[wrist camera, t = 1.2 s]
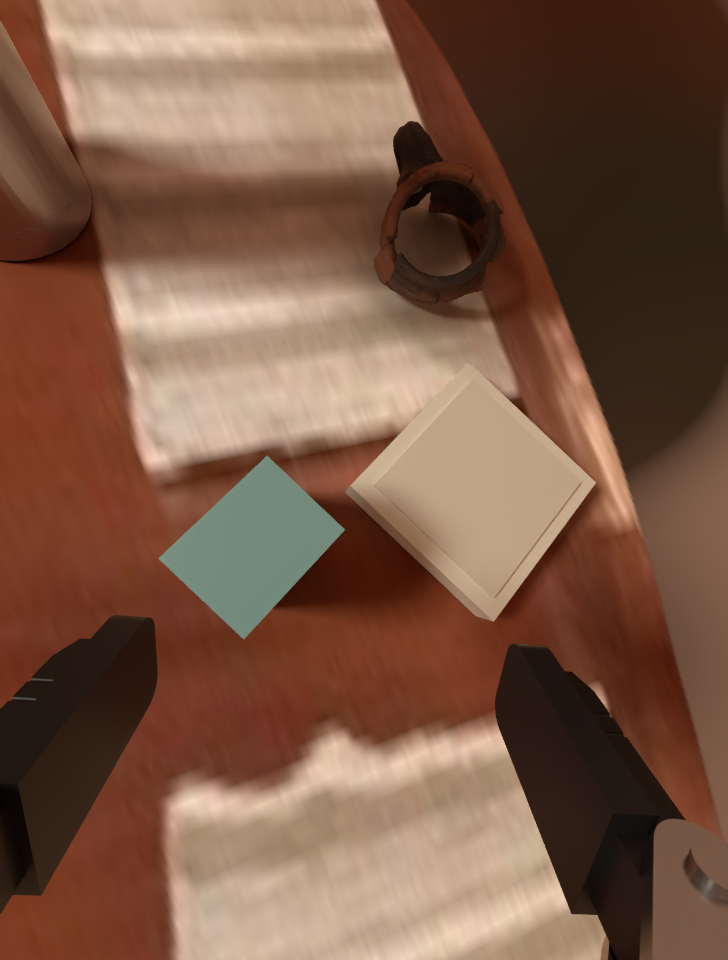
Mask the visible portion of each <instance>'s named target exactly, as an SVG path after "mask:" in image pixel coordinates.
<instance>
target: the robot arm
mask: <svg viewBox="0 0 728 960" xmlns="http://www.w3.org/2000/svg"><path fill="white" fill-rule="evenodd" d="M91 206H92V200H91V191H90V188H89V186H88V183H87V181H86V178H85V177H84V175H83V173H82V171H81V169H80V167H79V165H78V164H77V162H76V160H75V158H74V156H73V154H72V153H71V151H70V149H69V147H68V145H67V143H66V141H65V140H64V138H63V136H62V134H61V132H60V130H59V128H58V127H57V125H56V123H55V120H54V119H53V117H52V115H51V113H50V111H49V109H48V107H47V106H46V104H45V102H44V100H43V98H42V96H41V94H40V93H39V91H38V89H37V87H36V85H35V83H34V82H33V80H32V78H31V76H30V74H29V72H28V70H27V69H26V67H25V65H24V63H23V61H22V59H21V57H20V56H19V54H18V52H17V50H16V48H15V46H14V45H13V43H12V41H11V39H10V37H9V35H8V33H7V32H6V30H5V28H4V26H3V24H2V22H1V21H0V260H9V261H22V260H30V259H37V258H40V257H43V256H46V255H50V254H52V253H54V252H56V251H58V250H60V249H62V248H64V247H66V246H67V245H68V244H69V243H71V242H72V241H73V240H74V239H76V238H77V236H78V235H79V234H80V233H81V231H82V230H83V229H84V228H85V226H86V223H87V221H88V219H89V217H90V212H91ZM156 684H157V655H156V638H155V624H154V621H153V619H152V618H149V617H135V616H121V615H114V616H112V617H110V618H109V619H108V620H107V621H106V622H105V623H104V625H103V626H102V627H101V628H100V629H99V630H98V631H97V632H96V633H95V634H94V636H93V637H92V638H91V639H81V638H80V639H79V640H77V641H76V642H74V643H72V644H71V645H69V646H68V647H66V648H64V649H63V650H61V651H59V652H58V653H56V654H55V655H53V656H52V657H51V658H50V659H49V660H48V661H47V662H46V663H45V664H44V665H43V666H42V667H41V668H40V669H39V670H38V671H37V672H36V673H35V674H34V675H33V676H32V677H31V681H30V682H26V683H25V684H24V685H23V686H22V687H21V688H20V690H19V691H18V692H17V693H16V694H15V695H14V696H13V699H12V700H11V701H8V702H7V703H6V704H5V705H4V706H3V707H2V708H1V709H0V914H1V913H2V911H3V909H4V908H5V906H6V905H7V903H8V901H9V900H10V898H11V896H12V895H42V893H43V891H44V889H45V888H46V886H47V884H48V882H49V881H50V879H51V877H52V875H53V874H54V872H55V870H56V868H57V867H58V865H59V863H60V861H61V860H62V858H63V856H64V854H65V853H66V851H67V849H68V847H69V846H70V844H71V842H72V840H73V839H74V837H75V835H76V833H77V832H78V830H79V828H80V826H81V825H82V823H83V821H84V819H85V818H86V816H87V814H88V812H89V810H90V809H91V807H92V805H93V803H94V802H95V800H96V798H97V796H98V795H99V793H100V791H101V789H102V788H103V786H104V784H105V782H106V781H107V779H108V777H109V775H110V774H111V772H112V770H113V768H114V767H115V765H116V763H117V761H118V760H119V758H120V756H121V754H122V753H123V751H124V749H125V747H126V746H127V744H128V742H129V740H130V739H131V737H132V735H133V733H134V732H135V730H136V728H137V726H138V725H139V723H140V721H141V719H142V718H143V716H144V714H145V712H146V710H147V709H148V707H149V705H150V703H151V701H152V698H153V695H154V692H155V688H156ZM495 711H496V719H497V723H498V726H499V729H500V732H501V734H502V737H503V739H504V742H505V745H506V747H507V750H508V752H509V755H510V757H511V760H512V763H513V765H514V768H515V770H516V773H517V775H518V778H519V780H520V783H521V786H522V788H523V791H524V793H525V796H526V798H527V801H528V804H529V806H530V809H531V811H532V814H533V816H534V819H535V821H536V824H537V827H538V829H539V832H540V834H541V837H542V839H543V842H544V844H545V847H546V850H547V852H548V855H549V857H550V860H551V862H552V865H553V868H554V870H555V873H556V875H557V878H558V880H559V883H560V885H561V888H562V891H563V893H564V896H565V898H566V901H567V903H568V906H569V908H570V911H571V914H588V915H598V917H599V920H600V922H601V924H602V926H603V929H604V931H605V933H606V937H605V939H604V941H603V945H602V950H601V960H728V843H726V842H725V841H724V840H722V839H721V838H720V837H718V836H717V835H715V834H713V833H712V832H710V831H709V830H707V829H705V828H703V827H701V826H699V825H697V824H694V823H692V822H689V821H686V820H685V818H684V817H683V816H682V814H681V813H680V812H679V810H678V809H677V807H676V806H675V805H674V803H673V802H672V800H671V799H670V797H669V796H668V795H667V793H666V792H665V790H664V789H663V788H662V786H661V785H660V783H659V782H658V781H657V779H656V778H655V776H654V775H653V774H652V772H651V771H650V769H649V768H648V767H647V765H646V764H645V762H644V761H643V760H642V758H641V757H640V755H639V754H638V753H637V751H636V750H635V748H634V747H633V745H632V744H631V743H630V741H629V740H628V738H626V737H624V736H623V731H622V730H621V729H620V727H619V726H618V724H617V723H616V722H615V720H614V719H613V718H610V713H609V712H608V710H607V709H606V708H605V706H604V705H603V703H602V702H601V700H600V699H599V698H598V696H597V695H596V693H595V692H594V691H593V690H592V689H591V688H590V687H588V686H587V685H586V684H585V683H584V682H583V681H582V680H580V679H579V678H578V677H577V676H576V675H575V674H573V673H572V672H565V671H564V670H563V668H562V667H561V665H560V664H559V662H558V661H557V659H556V658H555V656H554V655H553V653H552V652H551V651H550V649H549V648H548V647H546V646H538V645H523V644H512V645H510V647H509V648H508V651H507V654H506V658H505V662H504V666H503V670H502V674H501V678H500V682H499V686H498V690H497V693H496V699H495Z"/></svg>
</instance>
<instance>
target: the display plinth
mask: <svg viewBox="0 0 728 960" xmlns="http://www.w3.org/2000/svg"><path fill="white" fill-rule="evenodd" d="M595 484H596V482H595V481H594V480H593V479H592V478H591V477H590V476H588V475H587V474H586V473H585V472H584V471H583V470H582V469H581V468H580V467H579V466H578V465H577V464H576V463H575V462H574V461H573V460H572V459H571V458H569V457H568V456H567V455H566V454H565V453H564V452H563V451H562V450H561V449H560V448H559V447H558V446H557V445H556V444H555V443H554V442H553V441H552V440H550V439H549V438H548V437H547V436H546V435H545V434H544V433H543V432H542V431H541V430H540V429H539V428H538V427H537V426H536V425H535V424H534V423H533V422H531V421H530V420H529V419H528V418H527V417H526V416H525V415H524V414H523V413H522V412H521V411H520V410H519V409H518V408H517V407H516V406H515V405H514V404H512V403H511V402H510V401H509V400H508V399H507V398H506V397H505V396H504V395H503V394H502V393H501V392H500V391H499V390H498V389H497V388H496V387H495V386H493V385H492V384H491V383H490V382H489V381H488V380H487V379H486V378H485V377H484V376H483V375H482V374H481V373H480V372H479V371H478V370H477V369H476V368H474V367H473V366H472V365H471V364H470V363H469V362H468V363H467V364H466V365H465V366H464V367H463V368H462V369H461V370H460V372H459V373H458V374H457V375H456V376H455V377H454V378H453V379H452V380H451V381H450V382H449V383H448V384H447V385H446V386H445V387H444V388H443V389H442V390H441V391H440V392H439V394H438V395H437V396H436V397H435V398H434V399H433V400H432V401H431V402H430V403H429V404H428V405H427V406H426V407H425V408H424V409H423V410H422V411H421V412H420V413H419V414H418V415H417V417H416V418H415V419H414V420H413V421H412V422H411V423H410V424H409V425H408V426H407V427H406V428H405V429H404V430H403V431H402V432H401V433H400V434H399V435H398V436H397V437H396V439H395V440H394V441H393V442H392V443H391V444H390V445H389V446H388V447H387V448H386V449H385V450H384V451H383V452H382V453H381V454H380V455H379V456H378V457H377V458H376V459H375V461H374V462H373V463H372V464H371V465H370V466H369V467H368V468H367V469H366V470H365V471H364V472H363V473H362V474H361V475H360V476H359V477H358V478H357V479H356V480H355V481H354V483H353V484H352V485H351V486H350V487H349V488H348V489H347V490H346V492H345V493H346V494H347V495H348V496H349V497H350V498H352V499H353V500H354V501H355V502H356V503H357V504H358V505H359V506H360V507H361V508H362V509H363V510H364V511H365V512H366V513H367V514H368V515H369V516H371V517H372V518H373V519H374V520H375V521H376V522H377V523H378V524H379V525H380V526H381V527H382V528H383V529H384V530H385V531H386V532H387V533H388V534H390V535H391V536H392V537H393V538H394V539H395V540H396V541H397V542H398V543H399V544H400V545H401V546H402V547H403V548H404V549H405V550H406V551H407V552H409V553H410V554H411V555H412V556H413V557H414V558H415V559H416V560H417V561H418V562H419V563H420V564H421V565H422V566H423V567H424V568H425V569H426V570H428V571H429V572H430V573H431V574H432V575H433V576H434V577H435V578H436V579H437V580H438V581H439V582H440V583H441V584H442V585H443V586H444V587H445V588H447V589H448V590H449V591H450V592H451V593H452V594H453V595H454V596H455V597H456V598H457V599H458V600H459V601H460V602H461V603H462V604H463V605H464V606H466V607H467V608H468V609H469V610H470V611H471V612H472V613H473V614H474V615H475V616H477V617H480V618H484V619H487V620H490V621H493V622H494V621H495V619H496V618H497V617H498V615H499V614H500V613H501V611H502V610H503V608H504V607H505V606H506V604H507V603H508V602H509V600H510V599H511V598H512V596H513V595H514V594H515V592H516V591H517V589H518V588H519V587H520V585H521V584H522V583H523V581H524V580H525V579H526V577H527V576H528V575H529V573H530V572H531V570H532V569H533V568H534V566H535V565H536V564H537V562H538V561H539V560H540V558H541V557H542V556H543V554H544V553H545V551H546V550H547V549H548V547H549V546H550V545H551V543H552V542H553V541H554V539H555V538H556V537H557V535H558V534H559V532H560V531H561V530H562V528H563V527H564V526H565V524H566V523H567V522H568V520H569V519H570V518H571V516H572V515H573V513H574V512H575V511H576V509H577V508H578V507H579V505H580V504H581V503H582V501H583V500H584V499H585V497H586V496H587V494H588V493H589V492H590V490H591V489H592V488H593V486H594V485H595Z"/></svg>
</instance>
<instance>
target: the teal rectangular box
mask: <svg viewBox="0 0 728 960" xmlns="http://www.w3.org/2000/svg"><path fill="white" fill-rule="evenodd" d="M344 530H345V529H344V528H343V527H342V526H341V525H340V524H338V523H337V522H336V521H335V520H334V519H333V518H332V517H331V516H330V515H329V514H328V513H327V512H326V511H325V510H324V509H323V508H322V507H321V506H319V505H318V504H317V503H316V502H315V501H314V500H313V499H312V498H311V497H310V496H309V495H308V494H307V493H306V492H305V491H304V490H303V489H302V488H300V487H299V486H298V485H297V484H296V483H295V482H294V481H293V480H292V479H291V478H290V477H289V476H288V475H287V474H286V473H285V472H284V471H283V470H281V469H280V468H279V467H278V466H277V465H276V464H275V463H274V462H273V461H272V460H271V459H270V458H269V457H268V456H266V457H265V458H264V459H263V460H262V461H261V462H260V463H259V464H258V465H257V466H256V467H255V468H254V469H253V470H252V471H251V472H249V473H248V474H247V475H246V476H245V477H244V478H243V479H242V480H241V481H240V482H239V483H238V484H237V485H236V486H235V487H234V488H233V489H232V490H230V491H229V492H228V493H227V494H226V495H225V496H224V497H223V498H222V499H221V500H220V501H219V502H218V503H217V504H216V505H215V506H214V507H212V508H211V509H210V510H209V511H208V512H207V513H206V514H205V515H204V516H203V517H202V518H201V519H200V520H199V521H198V522H197V523H196V524H194V525H193V526H192V527H191V528H190V529H189V530H188V531H187V532H186V533H185V534H184V535H183V536H182V537H181V538H180V539H179V540H178V541H177V542H175V543H174V544H173V545H172V546H171V547H170V548H169V549H168V550H167V551H166V552H165V553H164V554H163V555H162V556H161V557H160V558H159V560H161V561H162V562H163V563H164V564H165V565H166V566H167V567H168V568H169V569H170V570H171V571H172V572H173V573H174V574H175V575H176V576H177V577H178V578H179V579H181V580H182V581H183V582H184V583H185V584H186V585H187V586H188V587H189V588H190V589H191V590H192V591H193V592H194V593H195V594H196V595H197V596H198V597H200V598H201V599H202V600H203V601H204V602H205V603H206V604H207V605H208V606H209V607H210V608H211V609H212V610H213V611H214V612H215V613H216V614H217V615H219V616H220V617H221V618H222V619H223V620H224V621H225V622H226V623H227V624H228V625H229V626H230V627H231V628H232V629H233V630H234V631H235V632H236V633H238V634H239V635H240V636H241V637H242V638H243V639H245V638H246V636H247V635H248V634H249V633H250V632H251V631H252V630H253V629H254V628H255V627H256V626H257V625H258V623H259V622H260V621H261V620H262V619H263V618H264V617H265V616H266V615H267V614H268V613H269V612H270V610H271V609H272V608H273V607H274V606H275V605H276V604H277V603H278V602H279V601H280V600H281V599H282V597H283V596H284V595H285V594H286V593H287V592H288V591H289V590H290V589H291V588H292V587H293V586H294V585H295V583H296V582H297V581H298V580H299V579H300V578H301V577H302V576H303V575H304V574H305V573H306V572H307V570H308V569H309V568H310V567H311V566H312V565H313V564H314V563H315V562H316V561H317V560H318V559H319V557H320V556H321V555H322V554H323V553H324V552H325V551H326V550H327V549H328V548H329V547H330V546H331V544H332V543H333V542H334V541H335V540H336V539H337V538H338V537H339V536H340V535H341V534H342V533H343V531H344Z"/></svg>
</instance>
